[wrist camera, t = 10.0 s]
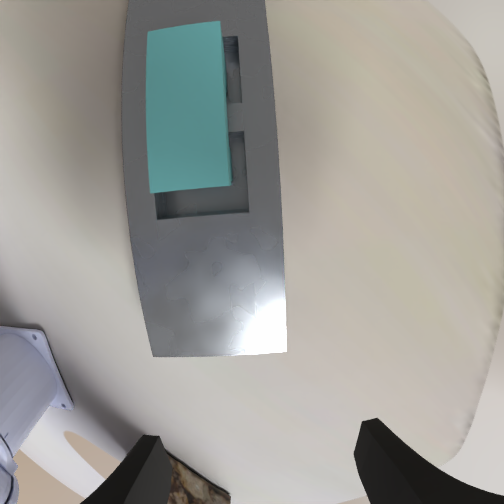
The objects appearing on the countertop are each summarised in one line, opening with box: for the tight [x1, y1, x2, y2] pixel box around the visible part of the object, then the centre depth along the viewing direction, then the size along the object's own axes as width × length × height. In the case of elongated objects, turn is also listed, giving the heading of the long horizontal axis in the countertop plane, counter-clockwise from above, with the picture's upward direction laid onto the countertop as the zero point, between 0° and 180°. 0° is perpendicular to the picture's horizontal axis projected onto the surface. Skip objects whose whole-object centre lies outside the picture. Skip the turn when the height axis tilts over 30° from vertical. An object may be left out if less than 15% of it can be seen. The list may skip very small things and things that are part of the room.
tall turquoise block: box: [146, 21, 233, 194], centre depth 12 cm, size 7×3×5 cm, turn 3°
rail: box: [122, 0, 286, 357], centre depth 14 cm, size 7×24×3 cm, turn 4°
